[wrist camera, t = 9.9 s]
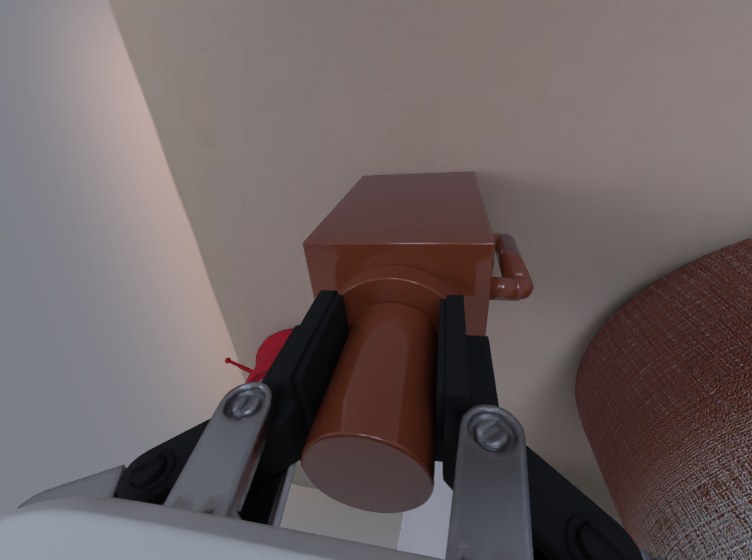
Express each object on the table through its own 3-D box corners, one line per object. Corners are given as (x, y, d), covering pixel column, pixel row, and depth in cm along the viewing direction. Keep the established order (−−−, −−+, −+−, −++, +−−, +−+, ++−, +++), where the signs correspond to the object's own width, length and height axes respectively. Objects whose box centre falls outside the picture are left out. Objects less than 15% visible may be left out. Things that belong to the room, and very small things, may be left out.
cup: (400, 423, 32) (376, 598, 21) (508, 434, 30) (543, 634, 19) (405, 480, 37) (387, 645, 26) (498, 493, 35) (521, 678, 24)
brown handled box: (362, 175, 20) (190, 363, 7) (514, 169, 18) (697, 408, 5) (371, 269, 23) (269, 523, 10) (501, 272, 22) (589, 583, 8)
